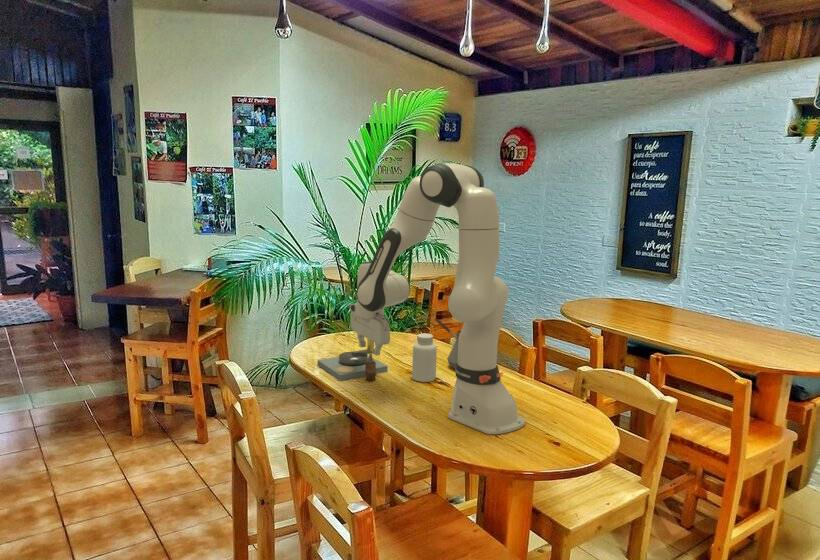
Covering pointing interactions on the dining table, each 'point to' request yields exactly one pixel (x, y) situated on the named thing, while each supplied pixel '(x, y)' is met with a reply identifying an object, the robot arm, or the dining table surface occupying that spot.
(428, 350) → the pill bottle
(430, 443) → the dining table surface
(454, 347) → the coffee pot
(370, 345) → the dial
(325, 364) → the board
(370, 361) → the brown bottle
